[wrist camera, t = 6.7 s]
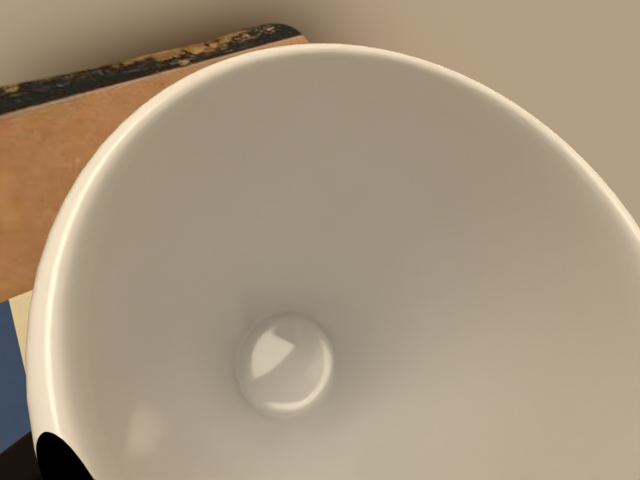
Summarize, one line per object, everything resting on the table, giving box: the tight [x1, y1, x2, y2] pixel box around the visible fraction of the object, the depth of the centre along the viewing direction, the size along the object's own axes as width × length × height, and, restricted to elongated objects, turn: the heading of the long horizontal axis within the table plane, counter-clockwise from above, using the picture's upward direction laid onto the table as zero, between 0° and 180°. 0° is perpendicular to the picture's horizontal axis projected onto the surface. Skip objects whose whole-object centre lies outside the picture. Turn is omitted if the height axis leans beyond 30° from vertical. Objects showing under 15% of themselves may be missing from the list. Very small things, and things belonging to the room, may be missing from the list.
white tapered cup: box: [25, 43, 640, 480], centre depth 10 cm, size 7×7×15 cm
